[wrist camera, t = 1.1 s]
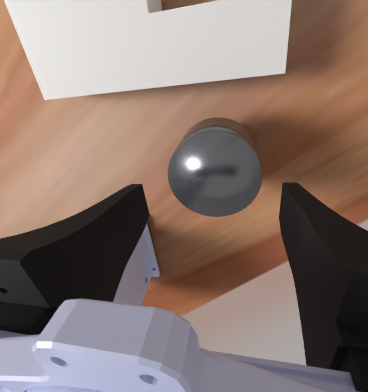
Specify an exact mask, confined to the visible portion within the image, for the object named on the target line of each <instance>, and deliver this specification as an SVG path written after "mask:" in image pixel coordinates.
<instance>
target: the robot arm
mask: <svg viewBox="0 0 368 392" xmlns="http://www.w3.org/2000/svg"><path fill="white" fill-rule="evenodd" d="M148 217H149V211H148V207H147V203H146V199H145V194H144V190H143V186H142V184H131V185H129V186H127V187H125V188H123V189H121V190H119V191H118V192H116V193H114V194H113V195H111V196H109V197H108V198H106V199H104V200H102V201H101V202H99V203H97V204H95V205H93V206H92V207H90V208H88V209H86V210H84V211H82V212H80V213H78V214H76V215H73V216H71V217H69V218H67V219H64V220H62V221H59V222H56V223H54V224H51V225H48V226H45V227H42V228H39V229H36V230H33V231H29V232H26V233H22V234H19V235H15V236H10V237H6V238H2V239H0V392H368V231H367V230H365V229H363V228H361V227H359V226H357V225H356V224H354V223H352V222H350V221H349V220H347V219H345V218H344V217H342V216H340V215H339V214H337V213H336V212H334V211H333V210H331V209H330V208H329V207H327V206H326V205H324V204H323V203H322V202H320V201H319V200H318V199H317V198H315V197H314V196H313V195H312V194H310V193H309V192H308V191H307V190H306V189H304V188H303V187H302V186H301V185H299V184H298V183H283V186H282V195H281V204H280V213H279V221H280V228H281V235H282V239H283V242H284V246H285V249H286V253H287V256H288V260H289V263H290V267H291V270H292V273H293V278H294V282H295V288H296V294H297V300H298V307H299V313H300V320H301V326H302V333H303V340H304V349H305V356H306V364H307V366H305V365H298V364H292V363H286V362H278V361H273V360H266V359H260V358H254V357H247V356H241V355H234V354H228V353H221V352H214V351H209V350H206V349H203V348H200V347H199V341H198V336H197V334H196V332H195V331H194V329H193V328H192V326H191V324H190V323H189V322H188V321H187V320H185V319H184V318H182V317H181V316H179V315H178V314H176V313H175V312H172V311H168V310H164V309H161V308H157V307H149V306H141V303H142V301H143V298H144V295H145V293H146V290H147V288H148V285H149V282H150V280H151V277H159V275H160V271H159V267H158V263H157V259H156V255H155V251H154V247H153V244H152V240H151V236H150V232H149V228H148V224H147V221H148Z"/></svg>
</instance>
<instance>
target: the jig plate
mask: <svg viewBox="0 0 368 392" xmlns="http://www.w3.org/2000/svg"><path fill="white" fill-rule="evenodd" d="M4 1H5V4H6V6H7V8H8V11H9V13H10V16H11V18H12V21H13V23H14V26H15V28H16V31H17V33H18V36H19V38H20V41H21V43H22V45H23V48H24V50H25V53H26V55H27V58H28V60H29V63H30V65H31V68H32V70H33V73H34V75H35V78H36V80H37V82H38V85H39V87H40V90H41V92H42V95H43V97H44V100H49V99H58V98H67V97H76V96H85V95H94V94H103V93H112V92H121V91H130V90H139V89H148V88H157V87H166V86H175V85H184V84H193V83H202V82H212V81H221V80H230V79H239V78H248V77H257V76H266V75H275V74H284V73H285V70H286V59H287V48H288V37H289V26H290V15H291V4H292V0H217V1H212V2H207V3H201V4H196V5H191V6H186V7H180V8H175V9H170V10H164V11H162V4H161V0H4Z"/></svg>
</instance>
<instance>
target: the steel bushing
mask: <svg viewBox="0 0 368 392" xmlns="http://www.w3.org/2000/svg"><path fill="white" fill-rule="evenodd" d="M168 180H169V184H170V187H171V190H172V191H173V193H174V195H175V196H176V198H177V199H178V200H179V201H180V202H181V203H182V204H183V205H184V206H186V207H187V208H189V209H190V210H192V211H194V212H196V213H199V214H202V215H206V216H214V217H220V216H227V215H231V214H234V213H237V212H239V211H241V210H243V209H244V208H246V207H247V206H248V205H249V204H250V203H251V202H252V201H253V200H254V199H255V197H256V196H257V194H258V192H259V190H260V187H261V182H262V171H261V165H260V159H259V153H258V147H257V143H256V141H255V139H254V137H253V135H252V134H251V132H250V131H249V130H248V129H247V128H246V127H244V126H243V125H242V124H240V123H238V122H236V121H234V120H231V119H227V118H210V119H206V120H203V121H201V122H199V123H197V124H196V125H194V126H193V127H192V128H191V129H190V130H189V131H188V132H187V133H186V134H185V136H184V138H183V139H182V141H181V142H180V144H179V146H178V147H177V149H176V151H175V152H174V154H173V156H172V158H171V160H170V163H169V167H168Z"/></svg>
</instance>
